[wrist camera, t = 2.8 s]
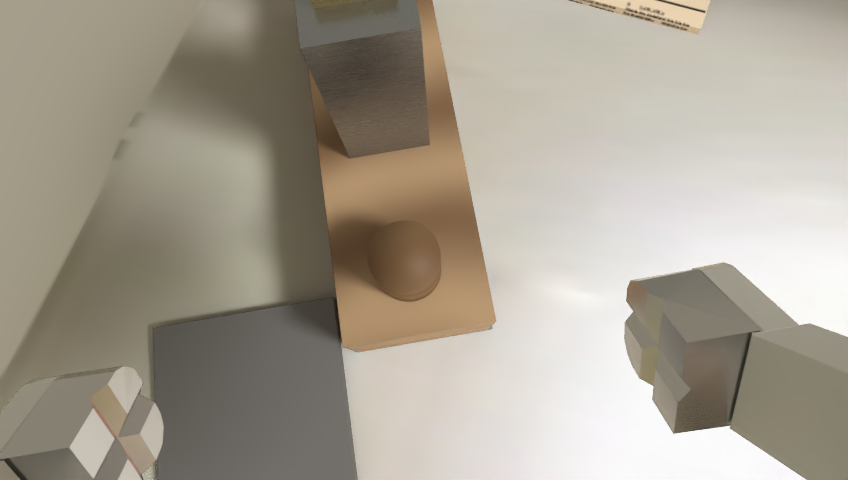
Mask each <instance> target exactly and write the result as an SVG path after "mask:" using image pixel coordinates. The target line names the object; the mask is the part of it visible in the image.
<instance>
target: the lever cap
mask: <svg viewBox="0 0 848 480" xmlns="http://www.w3.org/2000/svg"><path fill="white" fill-rule="evenodd" d="M294 3H295V11H296V19H297V28H298V36H299V44H300V50H301V52H302V54H303V56H304V58H305V61H306V63H307V65H308V67H309V69H310V72H311V74H312V76H313V78H314V80H315V83H316V85H317V87H318V89H319V91H320V94H321V96H322V98H323V100H324V102H325V105H326V107H327V109H328V111H329V113H330V116H331V118H332V120H333V122H334V124H335V127H336V129H337V131H338V133H339V135H340V138H341V140H342V142H343V144H344V146H345V149H346V151H347V153H348V155H349V157H350V159H351V158H357V157H363V156H369V155H374V154H380V153H386V152H392V151H398V150H404V149H409V148H415V147H421V146H427V145H430V138H429V125H428V111H427V98H426V85H425V71H424V58H423V45H422V31H421V24H420V18H419V13H418V8H417V3H416V0H294Z"/></svg>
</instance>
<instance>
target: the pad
mask: <svg viewBox="0 0 848 480" xmlns="http://www.w3.org/2000/svg"><path fill="white" fill-rule="evenodd" d="M153 348H154V378H155V404H156V406H157V407H158V409H159V411H160V413H161V417H162V421H163V425H164V430H163V444H162V447H161V449H160V452H159V454H158V457H157V470H158V480H358V479H357V471H356V463H355V455H354V447H353V439H352V431H351V422H350V414H349V406H348V398H347V390H346V382H345V374H344V365H343V357H342V349H341V341H340V333H339V325H338V317H337V308H336V300H335V298H333V297H332V298H326V299H320V300H314V301H308V302H302V303H297V304H291V305H285V306H279V307H273V308H267V309H262V310H256V311H250V312H244V313H238V314H232V315H227V316H221V317H215V318H209V319H203V320H197V321H192V322H186V323H180V324H174V325H168V326H162V327H157V328H153Z"/></svg>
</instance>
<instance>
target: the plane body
mask: <svg viewBox="0 0 848 480" xmlns="http://www.w3.org/2000/svg"><path fill="white" fill-rule="evenodd" d="M416 3H417V8H418V13H419V18H420V24H421V31H422V45H423V58H424V71H425V85H426V98H427V111H428V125H429V138H430V145H427V146H421V147H415V148H409V149H404V150H398V151H392V152H386V153H380V154H374V155H369V156H363V157H357V158H351V159H350V157H349V155H348V153H347V151H346V149H345V146H344V144H343V142H342V140H341V138H340V135H339V133H338V131H337V129H336V127H335V124H334V122H333V120H332V118H331V116H330V113H329V111H328V109H327V107H326V105H325V102H324V100H323V98H322V96H321V94H320V91H319V89H318V87H317V85H316V83H315V80H314V78H313V76H312V74H311V72H310V69H309V67H308V70H309V78H310V86H311V94H312V102H313V110H314V119H315V127H316V135H317V143H318V151H319V159H320V167H321V175H322V183H323V191H324V199H325V208H326V216H327V224H328V232H329V240H330V248H331V256H332V264H333V272H334V280H335V289H336V297H337V305H338V313H339V321H340V329H341V337H342V345H343V348H347V349H351V350H355V352H362V351H368V350H373V349H379V348H385V347H391V346H397V345H403V344H408V343H414V342H420V341H426V340H432V339H438V338H443V337H449V336H455V335H461V334H467V333H473V332H478V331H484V330H490V329H492V325H493V324H494V323H495V322H496V318H495V313H494V308H493V303H492V298H491V293H490V288H489V283H488V278H487V273H486V268H485V263H484V258H483V253H482V248H481V243H480V237H479V232H478V227H477V222H476V217H475V212H474V207H473V202H472V197H471V192H470V187H469V182H468V177H467V172H466V167H465V162H464V157H463V152H462V147H461V142H460V137H459V132H458V127H457V122H456V117H455V112H454V107H453V102H452V97H451V92H450V87H449V82H448V77H447V72H446V67H445V62H444V57H443V52H442V47H441V42H440V37H439V32H438V27H437V22H436V17H435V12H434V7H433V2H432V0H416Z"/></svg>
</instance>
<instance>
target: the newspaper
mask: <svg viewBox="0 0 848 480" xmlns="http://www.w3.org/2000/svg"><path fill="white" fill-rule="evenodd" d="M570 1H573V2H577V3H581V4H585V5H589V6H592V7H596V8H600V9H604V10H607V11H611V12H615V13H619V14H622V15H626V16H630V17H634V18H637V19H641V20H645V21H649V22H652V23H656V24H660V25H664V26H667V27H671V28H675V29H679V30H682V31H686V32H690V33H694V34H698V32H699V31H700V29H701V27H702V24H703V22H704V19H705V16H706V13H707V11H708V7H709V4H710V1H711V0H570Z"/></svg>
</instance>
